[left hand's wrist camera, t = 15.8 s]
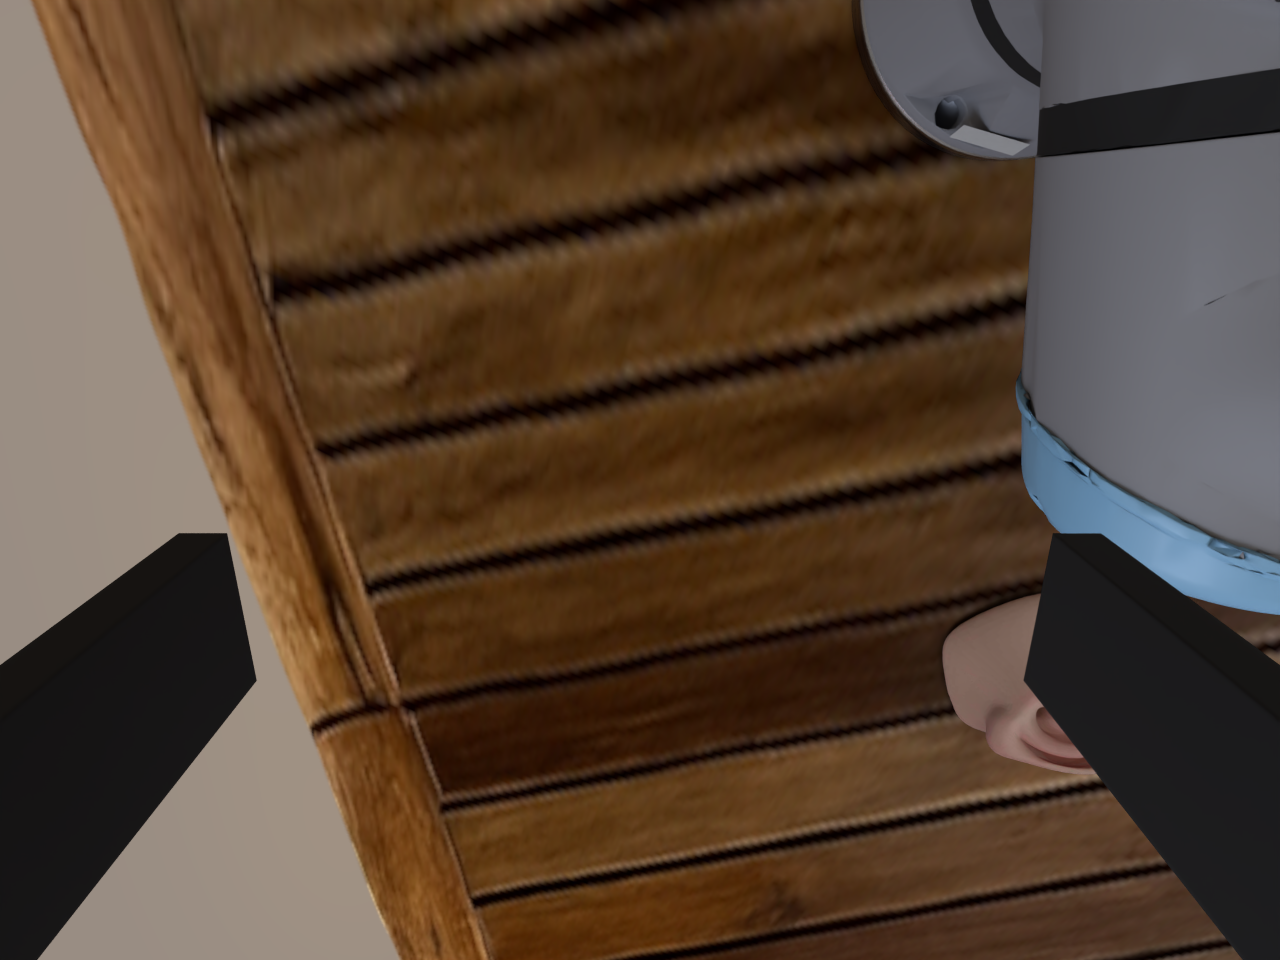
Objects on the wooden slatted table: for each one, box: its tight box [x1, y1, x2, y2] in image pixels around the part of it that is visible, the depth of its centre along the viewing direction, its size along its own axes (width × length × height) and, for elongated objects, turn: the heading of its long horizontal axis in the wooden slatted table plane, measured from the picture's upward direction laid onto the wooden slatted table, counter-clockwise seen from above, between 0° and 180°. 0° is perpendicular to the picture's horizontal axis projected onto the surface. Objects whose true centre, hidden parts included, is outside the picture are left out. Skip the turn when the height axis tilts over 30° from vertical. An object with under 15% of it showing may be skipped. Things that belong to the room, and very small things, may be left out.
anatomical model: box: [943, 594, 1096, 774], centre depth 47 cm, size 13×4×12 cm
